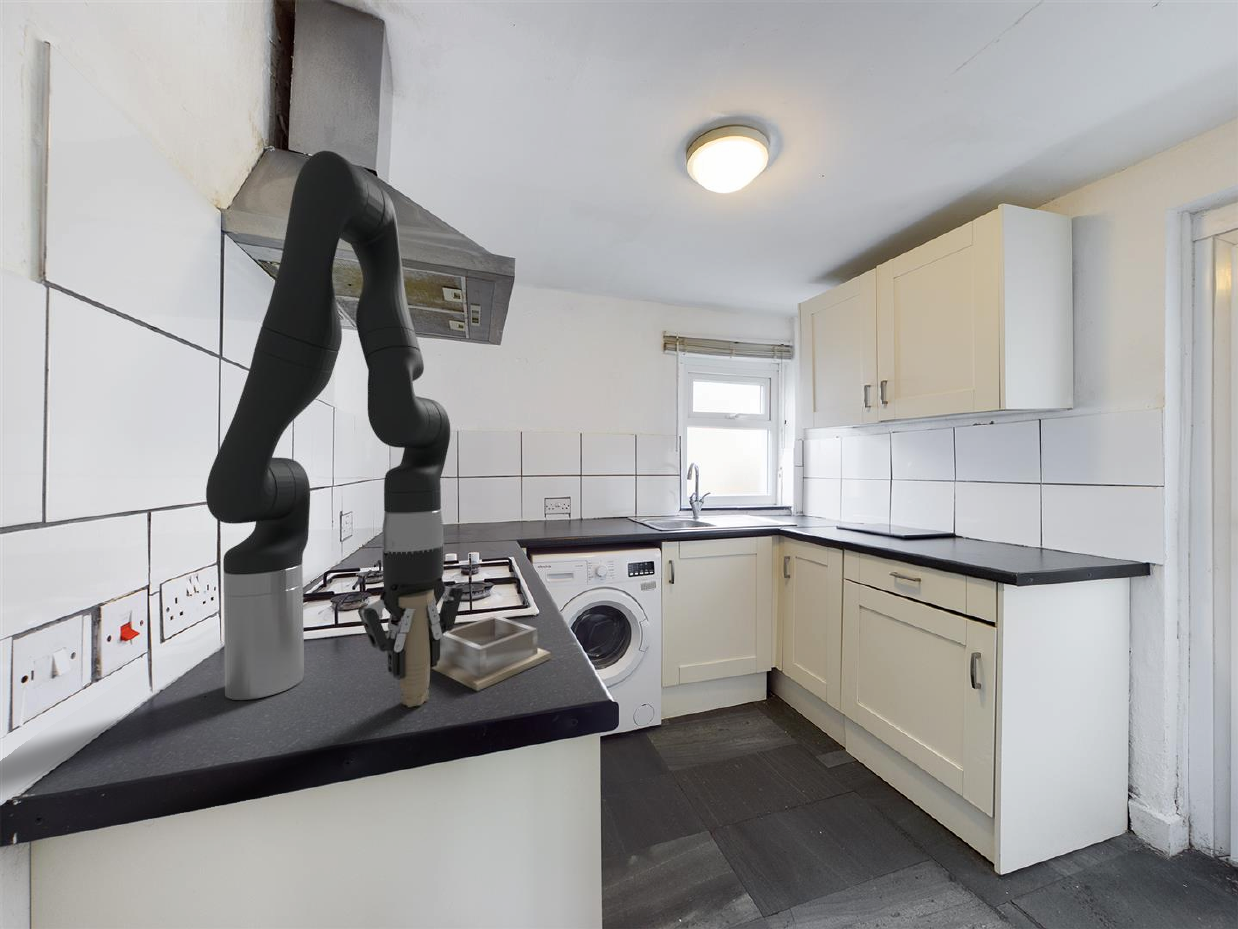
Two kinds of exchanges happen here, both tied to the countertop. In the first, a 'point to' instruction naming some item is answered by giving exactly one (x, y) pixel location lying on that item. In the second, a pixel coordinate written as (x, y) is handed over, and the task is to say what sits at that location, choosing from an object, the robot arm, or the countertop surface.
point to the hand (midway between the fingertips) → (414, 670)
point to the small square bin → (489, 651)
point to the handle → (416, 650)
